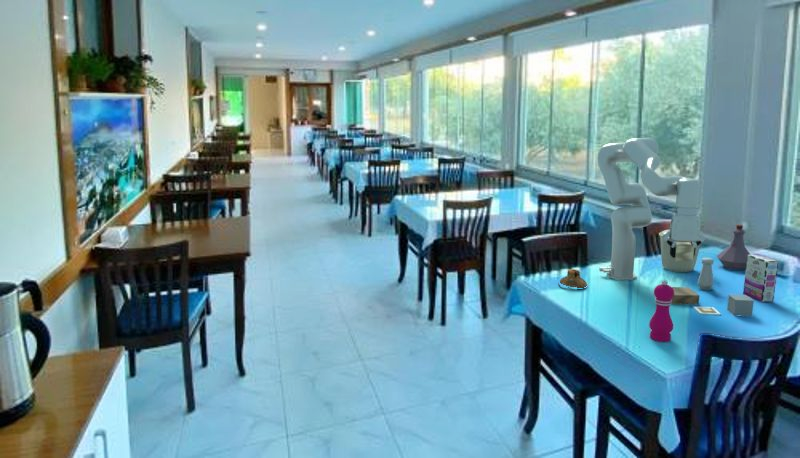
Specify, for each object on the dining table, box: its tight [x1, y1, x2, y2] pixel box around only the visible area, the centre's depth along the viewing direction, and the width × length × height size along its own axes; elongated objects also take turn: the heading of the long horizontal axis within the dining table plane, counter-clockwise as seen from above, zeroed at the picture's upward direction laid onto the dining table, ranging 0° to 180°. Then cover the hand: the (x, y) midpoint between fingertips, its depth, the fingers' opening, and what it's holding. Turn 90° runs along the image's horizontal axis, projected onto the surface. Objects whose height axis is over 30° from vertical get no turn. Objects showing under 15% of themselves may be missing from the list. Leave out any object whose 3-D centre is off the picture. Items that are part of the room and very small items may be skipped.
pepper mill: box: [648, 279, 674, 343], centre depth 183 cm, size 7×7×20 cm
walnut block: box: [671, 286, 700, 305], centre depth 220 cm, size 10×10×4 cm
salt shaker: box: [697, 257, 715, 291], centre depth 232 cm, size 6×6×13 cm
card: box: [692, 306, 721, 316], centre depth 208 cm, size 7×7×1 cm
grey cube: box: [726, 294, 755, 317], centre depth 205 cm, size 6×6×6 cm
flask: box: [716, 224, 752, 271], centre depth 260 cm, size 16×16×20 cm
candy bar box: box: [742, 254, 780, 303], centre depth 219 cm, size 11×5×16 cm, turn 5°
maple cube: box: [671, 242, 694, 261], centre depth 217 cm, size 6×6×6 cm
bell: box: [559, 268, 588, 288], centre depth 239 cm, size 12×12×7 cm
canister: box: [658, 228, 701, 273], centre depth 258 cm, size 18×18×21 cm
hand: (682, 256), depth 217 cm, fingers closed on maple cube, 6 cm apart
